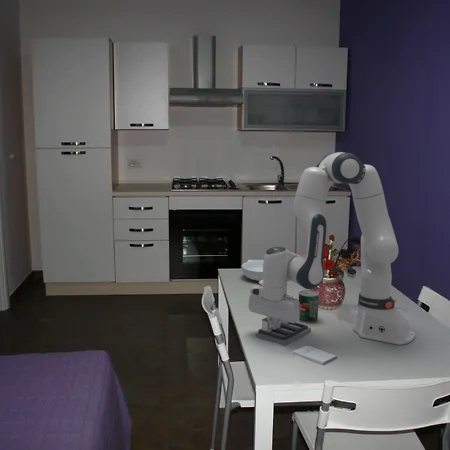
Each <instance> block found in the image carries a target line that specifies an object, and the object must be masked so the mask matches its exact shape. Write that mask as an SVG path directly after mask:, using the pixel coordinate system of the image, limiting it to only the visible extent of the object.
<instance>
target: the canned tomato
mask: <svg viewBox="0 0 450 450" xmlns="http://www.w3.org/2000/svg"><path fill="white" fill-rule="evenodd" d="M319 295H320V293H319V292H317V291H315V290H312V289H305V290H303V289H302V290H299V291H298V301H299V313H300V319H299V320H298V321H300V322H302V323H306V324H313V323H317V322H318V321H319V320H318V317H319V316H318V315H319V299H320V298H319Z"/></svg>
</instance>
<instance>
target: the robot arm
mask: <svg viewBox="0 0 450 450" xmlns="http://www.w3.org/2000/svg"><path fill="white" fill-rule="evenodd" d="M297 184H298V185H297V189H296V191H295V197H294V201H293V213H294V215H295V217H296V218H297V219H298V221H300V222H301V224H302V225H303V226H304V228H305V229H306V232H307V245H306V253H305V254H306V258H305V257H303V256H300V255H301V254H298V253H294V252H291V251H290V250H288V249H287V248H286V247H283V246H272V247H270V248H268V249H266V251H265V253H264V257H263V261H264V262H263V275H264V279H263V283H262V285H259V284H258V285H255V286H256V287H254V286H252V288H250V290H249V291H250V292H249V293H250V295H249V297H248V310H249V311H250V312H251V313H254V314H259V315H262V316H265V317H267V320H268V322H269V324H270V325H269V328H271V329H274V330H275V329H276V328H277V324H278V322H279V321H280V320H283V321H286V322H290V323H295V322H296V323H298V321H299V319H300V313H299V298H297V297H295V296H291V295H288V282H290V281H291V282H293V283H295V284H298V285H299V286H301V287H302V288H303V289H305V290H314V289H315V288H317V287H319V286H320V285H321V283H322V282H323V281H324V279H325V264H324V258H325V249H326V238H327V221H326V203H327V198H328V197H327V196H328V192H329V190H330V188H331V186H332V185H333V184H344V185H345V184H346V185H348V186H349V188H350V190H351V195H352V201H353V205H354V209H355V214H356V217H357V218H356V219H357V221H358V224H359V228H360V231H361V236H360V267H361V271H360V272H361V275H360V291H359V293H358V298H357V299H358V300H357V307H358V308H357V311H358V312H357V316H356V318H355V319H356V320H355V322H354V326H353V327H352V328H353V330H354V332H356V333H357V335H358V336H359V337H360V338H364V339H369V340H373V341H378V342H384V343H387V344H388V343H389V344H392V345H398V346H399V345H400V346H402V345H403V346H404V345H407V344H409V343H411V342H412V341H414V340H415V338H416V334H415V332H414V331H412V330H410V324H409V320H408V318H407V317H406V316H405V315H404V314H402V313H401V312H400V311H399V309H397V308H396V307H395V303H397V298H395V299H394V298H392V296H391V292H392V281H393V280H392V279H393V275H392V269H391V265H392V263H394V261H396V259H397V258H398V257H399V256H398V255H399V251H400V250H399V245H398V243H397V238H396V235H395V231H394V228H393V225H392V221H391V219H390V216H389V213H388V206H387V202H386V197H385V193H384V189H383V186H382V182H381V178H380V176H379V173H378V171H377V169H376V168H375V167H374V166H373V165H371V164H363V162H362V161H361V160H360V159H359V157H357V155H355V154H353V153H350V152H343V151H342V152H341V151H338V152H331V153H327V154H326V155H325V156H324V157H322V159H321V160H320V161H319V162H318V164H317V165H316V166H310V167H307V168H305V169H304V171H303V172H302V175H301V177H300V180H299V182H298V183H297ZM272 318H274V321H275V322H273V319H272Z"/></svg>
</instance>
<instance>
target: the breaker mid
mask: <svg viewBox="0 0 450 450" xmlns="http://www.w3.org/2000/svg"><path fill="white" fill-rule="evenodd" d="M272 319H273V322H275V321H274V318H272ZM280 327H281V320H280V321H279V322H278V324H277V328H280Z"/></svg>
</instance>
